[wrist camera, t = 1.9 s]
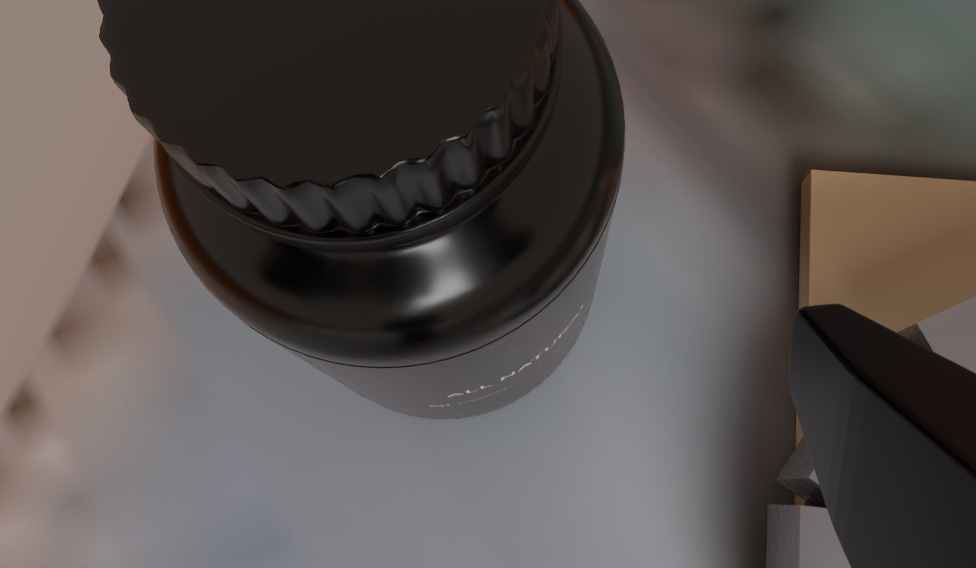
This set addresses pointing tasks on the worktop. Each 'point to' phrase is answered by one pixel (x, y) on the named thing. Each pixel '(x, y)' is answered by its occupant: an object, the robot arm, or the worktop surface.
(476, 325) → the supplement bottle
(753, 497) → the worktop surface
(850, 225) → the oak board
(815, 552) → the steel ring
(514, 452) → the worktop surface
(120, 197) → the worktop surface
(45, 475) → the worktop surface
